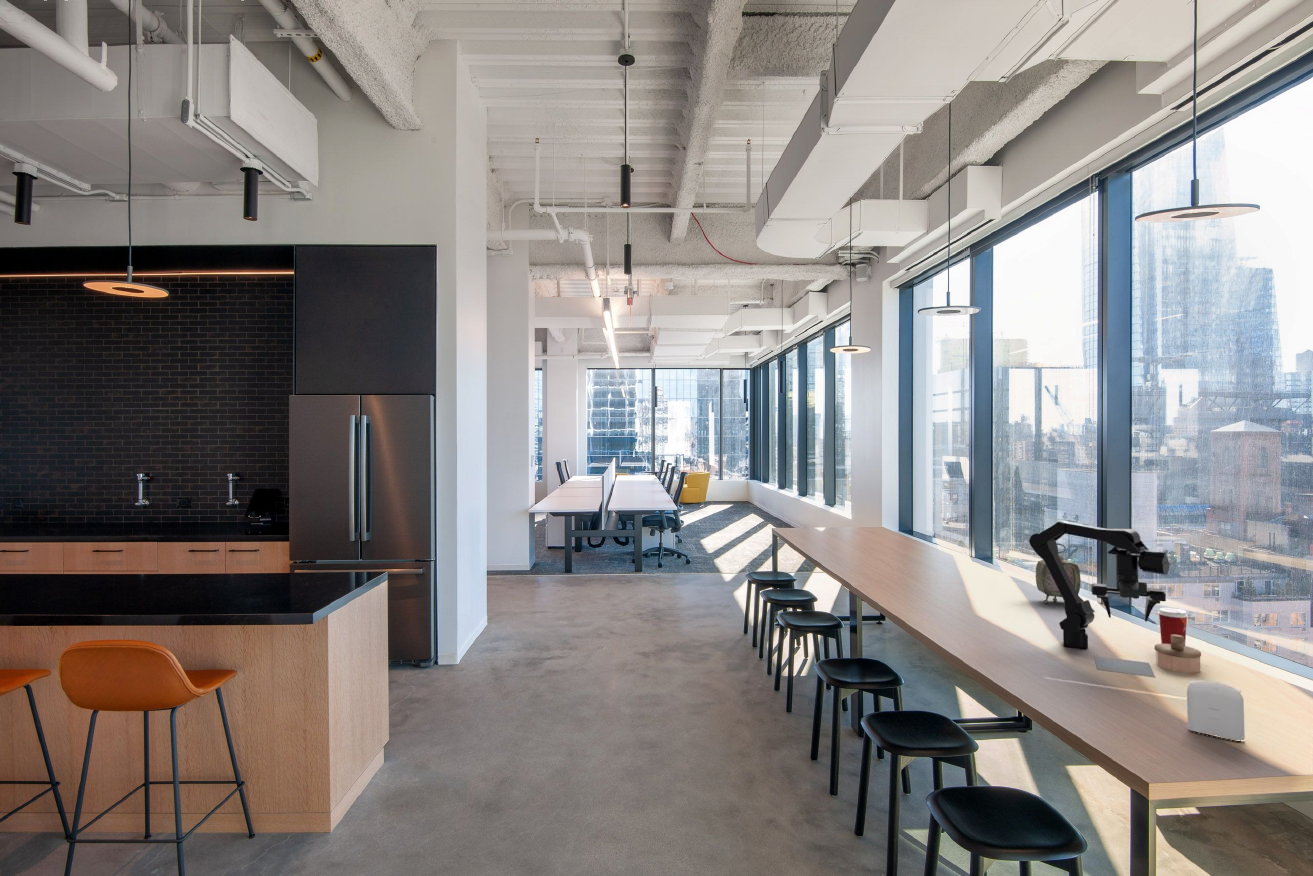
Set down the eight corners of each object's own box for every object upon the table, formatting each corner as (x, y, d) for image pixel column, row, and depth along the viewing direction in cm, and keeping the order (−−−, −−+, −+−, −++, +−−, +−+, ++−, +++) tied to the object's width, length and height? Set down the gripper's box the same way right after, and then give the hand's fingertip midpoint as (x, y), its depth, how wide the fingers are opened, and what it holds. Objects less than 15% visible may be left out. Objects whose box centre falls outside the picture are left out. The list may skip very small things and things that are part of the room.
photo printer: (1186, 732, 157) (1185, 679, 157) (1188, 726, 160) (1187, 675, 160) (1244, 745, 150) (1243, 690, 150) (1245, 739, 153) (1244, 685, 153)
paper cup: (1194, 658, 208) (1193, 613, 208) (1166, 657, 210) (1165, 612, 210) (1179, 650, 216) (1179, 607, 216) (1153, 649, 217) (1152, 606, 217)
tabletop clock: (1042, 605, 275) (1042, 544, 275) (1034, 599, 284) (1033, 541, 284) (1080, 606, 273) (1080, 545, 273) (1070, 600, 282) (1070, 541, 282)
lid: (1157, 654, 197) (1157, 638, 197) (1151, 644, 207) (1151, 628, 207) (1204, 660, 192) (1204, 643, 192) (1196, 649, 201) (1196, 633, 201)
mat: (1097, 671, 198) (1097, 669, 198) (1094, 657, 210) (1094, 655, 210) (1155, 679, 191) (1155, 677, 191) (1148, 664, 203) (1148, 662, 203)
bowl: (1159, 671, 198) (1159, 654, 198) (1154, 661, 206) (1154, 644, 206) (1202, 676, 192) (1202, 659, 192) (1195, 666, 201) (1195, 649, 201)
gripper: (1093, 571, 206) (1093, 622, 206) (1168, 577, 196) (1169, 630, 196) (1090, 565, 215) (1091, 613, 215) (1162, 570, 206) (1163, 621, 206)
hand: (1127, 619), depth 208 cm, fingers open, 9 cm apart
